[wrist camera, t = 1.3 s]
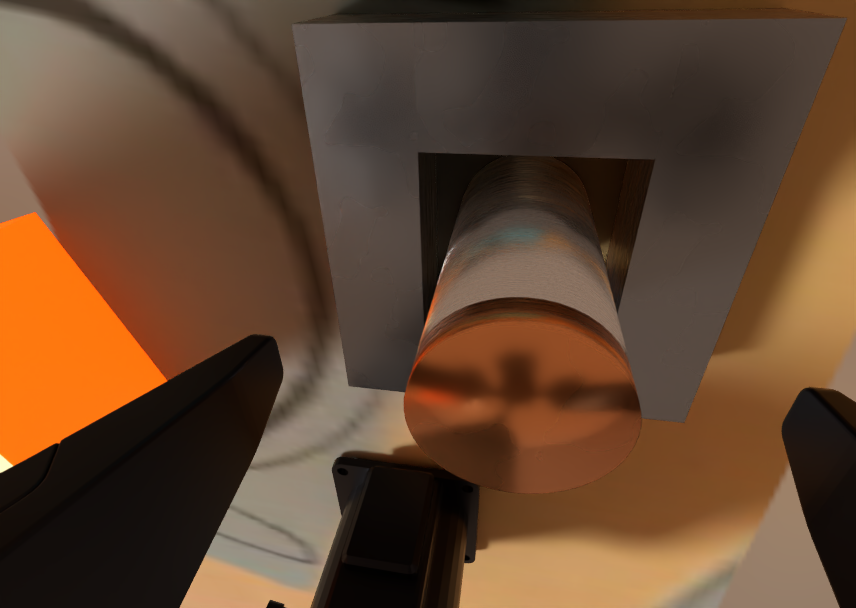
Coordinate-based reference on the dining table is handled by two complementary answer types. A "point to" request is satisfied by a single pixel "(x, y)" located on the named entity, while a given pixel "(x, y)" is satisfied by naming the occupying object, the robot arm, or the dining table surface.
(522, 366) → the pin
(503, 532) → the dining table surface
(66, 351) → the orange juice
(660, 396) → the grey flat square frame
